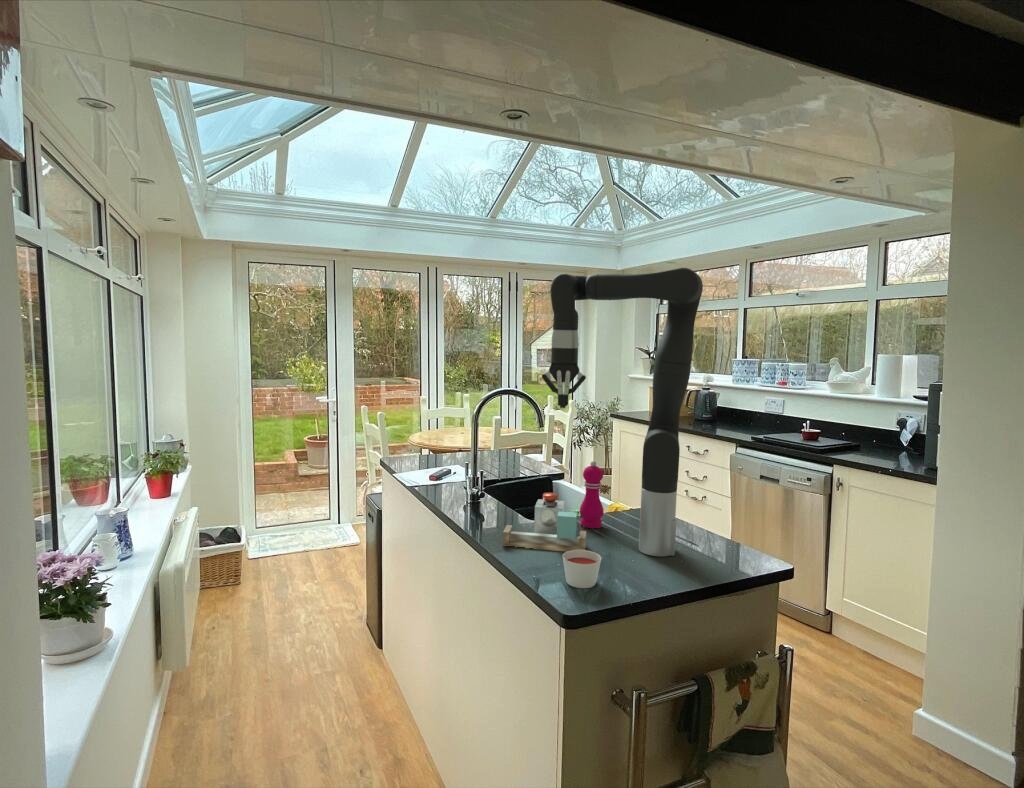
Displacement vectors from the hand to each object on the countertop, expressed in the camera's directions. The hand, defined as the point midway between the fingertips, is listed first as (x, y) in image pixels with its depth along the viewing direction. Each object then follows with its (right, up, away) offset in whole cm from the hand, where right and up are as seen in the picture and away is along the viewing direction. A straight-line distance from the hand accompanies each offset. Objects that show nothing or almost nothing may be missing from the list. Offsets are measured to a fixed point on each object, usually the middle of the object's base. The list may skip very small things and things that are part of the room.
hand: (563, 407), depth 171 cm
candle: (+2, -41, -30) cm, 50 cm away
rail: (-6, -38, -6) cm, 39 cm away
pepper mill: (+9, -36, +11) cm, 39 cm away
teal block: (0, -35, -8) cm, 35 cm away
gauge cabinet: (-4, -36, +6) cm, 37 cm away
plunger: (-4, -35, +6) cm, 35 cm away
